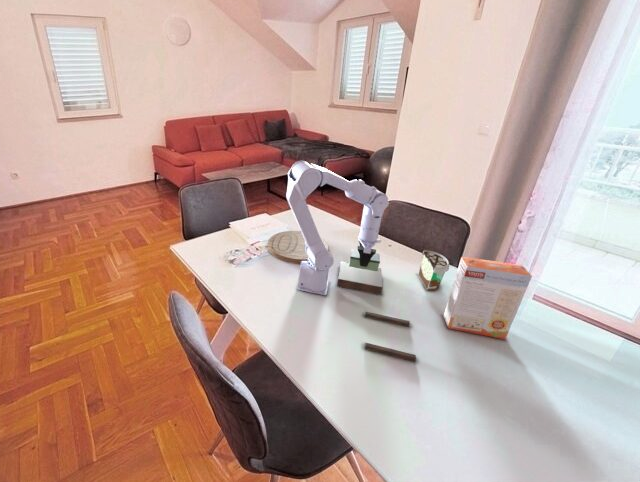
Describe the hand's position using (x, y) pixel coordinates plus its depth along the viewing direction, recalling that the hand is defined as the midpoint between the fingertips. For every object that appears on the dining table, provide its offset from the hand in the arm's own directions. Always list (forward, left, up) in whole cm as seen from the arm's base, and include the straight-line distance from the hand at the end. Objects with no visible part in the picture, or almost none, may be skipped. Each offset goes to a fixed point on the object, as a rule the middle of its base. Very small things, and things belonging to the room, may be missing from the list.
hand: (363, 261), depth 107 cm
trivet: (-25, +17, -9) cm, 32 cm away
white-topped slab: (0, +1, -8) cm, 8 cm away
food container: (+24, +8, -9) cm, 26 cm away
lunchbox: (0, 0, -1) cm, 1 cm away
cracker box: (+31, -12, -9) cm, 34 cm away
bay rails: (+8, -24, -8) cm, 27 cm away
